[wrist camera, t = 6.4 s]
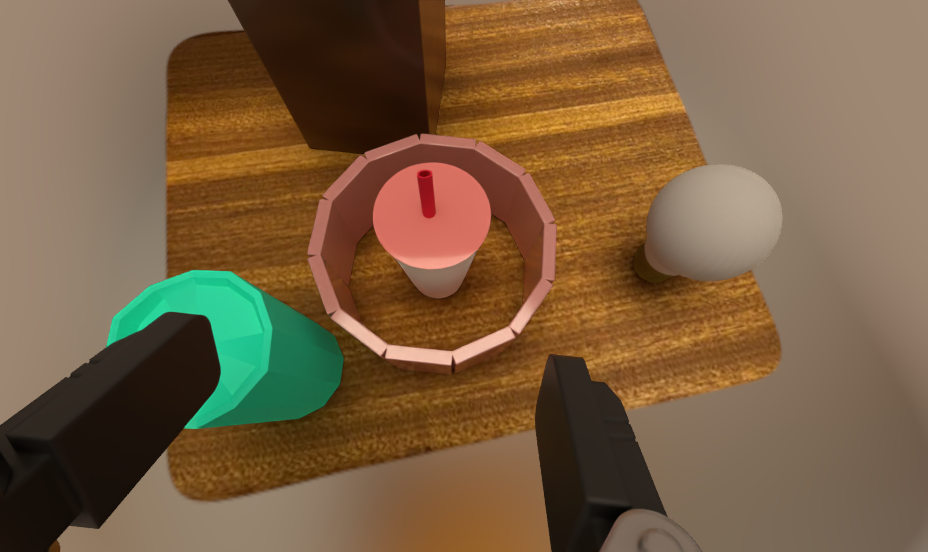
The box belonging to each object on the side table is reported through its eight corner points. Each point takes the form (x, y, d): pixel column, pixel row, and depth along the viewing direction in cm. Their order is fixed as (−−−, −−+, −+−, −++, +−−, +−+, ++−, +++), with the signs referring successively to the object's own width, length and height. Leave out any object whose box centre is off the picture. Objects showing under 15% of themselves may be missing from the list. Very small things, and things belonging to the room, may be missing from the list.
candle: (226, 400, 24) (23, 397, 13) (272, 307, 26) (130, 231, 14) (319, 434, 24) (196, 462, 12) (359, 337, 26) (284, 282, 14)
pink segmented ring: (322, 360, 25) (284, 347, 19) (360, 179, 29) (337, 124, 23) (528, 382, 25) (551, 376, 19) (538, 198, 29) (559, 147, 23)
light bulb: (603, 223, 28) (679, 132, 19) (687, 232, 28) (805, 145, 19) (603, 305, 27) (688, 249, 17) (693, 314, 27) (828, 264, 17)
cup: (403, 232, 28) (370, 112, 16) (481, 240, 28) (502, 125, 16) (392, 309, 26) (345, 234, 15) (475, 317, 26) (493, 248, 15)
